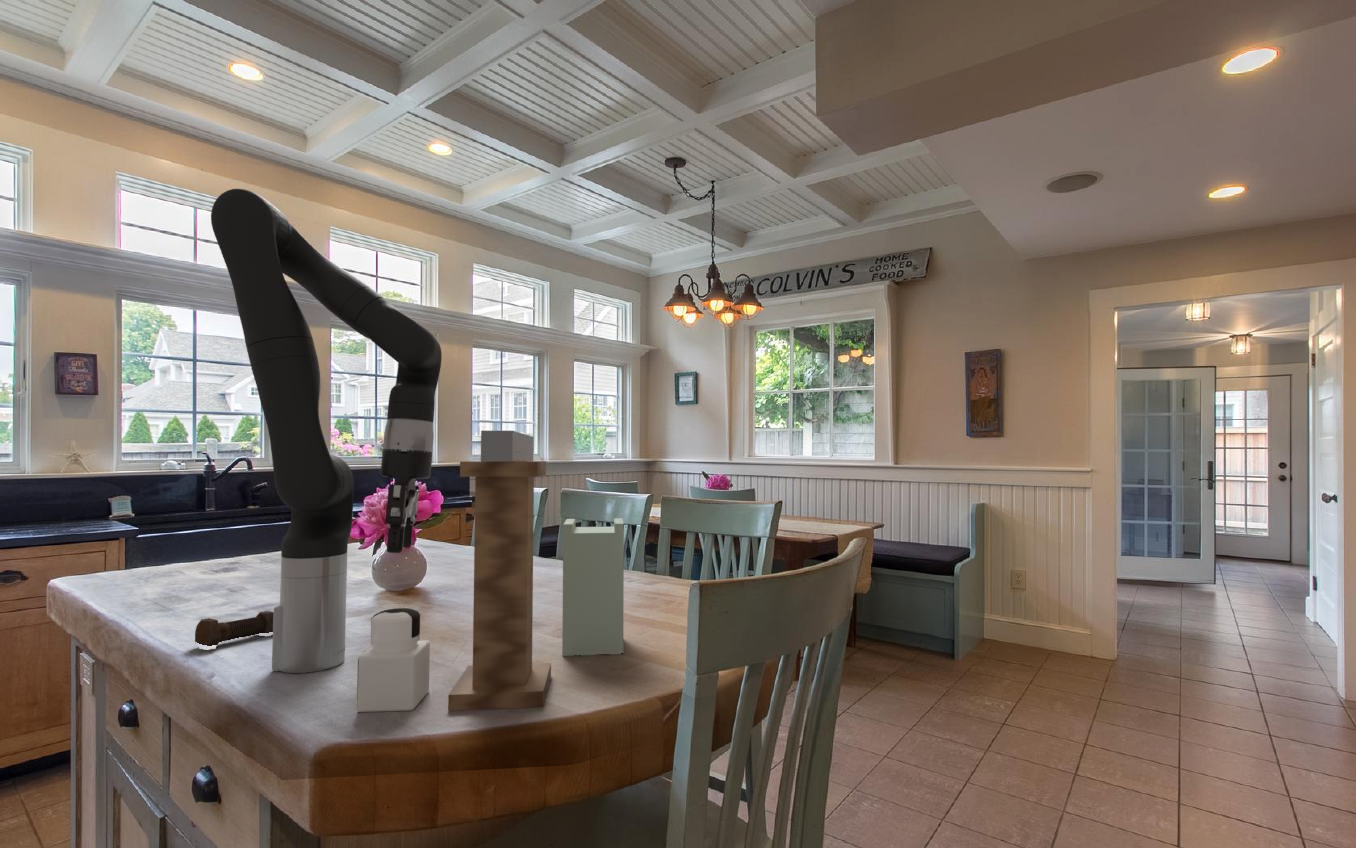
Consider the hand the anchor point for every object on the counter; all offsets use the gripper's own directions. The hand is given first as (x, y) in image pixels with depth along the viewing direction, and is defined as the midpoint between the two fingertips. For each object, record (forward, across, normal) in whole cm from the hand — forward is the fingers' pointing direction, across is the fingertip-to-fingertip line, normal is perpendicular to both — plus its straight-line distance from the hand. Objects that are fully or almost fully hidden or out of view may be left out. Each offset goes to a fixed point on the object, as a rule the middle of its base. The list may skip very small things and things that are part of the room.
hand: (399, 549), depth 104 cm
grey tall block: (+16, -2, +32) cm, 36 cm away
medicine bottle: (+19, +17, +4) cm, 25 cm away
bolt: (+19, -22, -28) cm, 40 cm away
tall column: (+18, +17, +18) cm, 30 cm away
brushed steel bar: (-15, +14, +16) cm, 26 cm away
